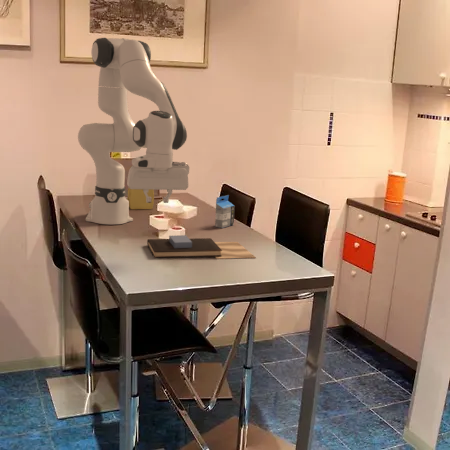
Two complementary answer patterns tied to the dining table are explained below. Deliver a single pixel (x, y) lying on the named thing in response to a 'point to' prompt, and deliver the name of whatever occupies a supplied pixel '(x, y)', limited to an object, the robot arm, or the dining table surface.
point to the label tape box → (224, 212)
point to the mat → (233, 250)
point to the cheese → (140, 199)
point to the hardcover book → (199, 248)
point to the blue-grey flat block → (180, 241)
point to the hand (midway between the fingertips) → (157, 202)
